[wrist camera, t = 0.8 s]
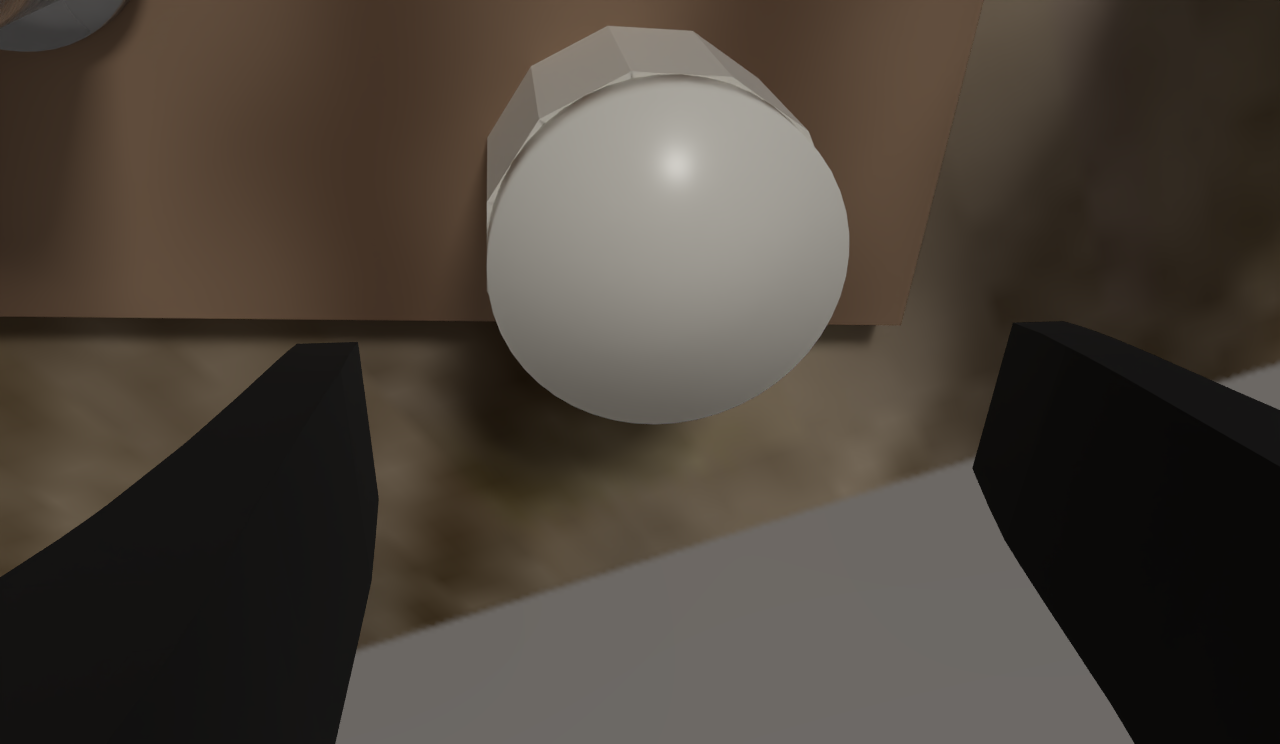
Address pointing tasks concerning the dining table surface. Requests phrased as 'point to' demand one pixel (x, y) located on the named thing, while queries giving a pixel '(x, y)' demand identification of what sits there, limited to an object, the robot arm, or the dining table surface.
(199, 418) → the dining table surface
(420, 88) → the post board
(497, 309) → the cap
